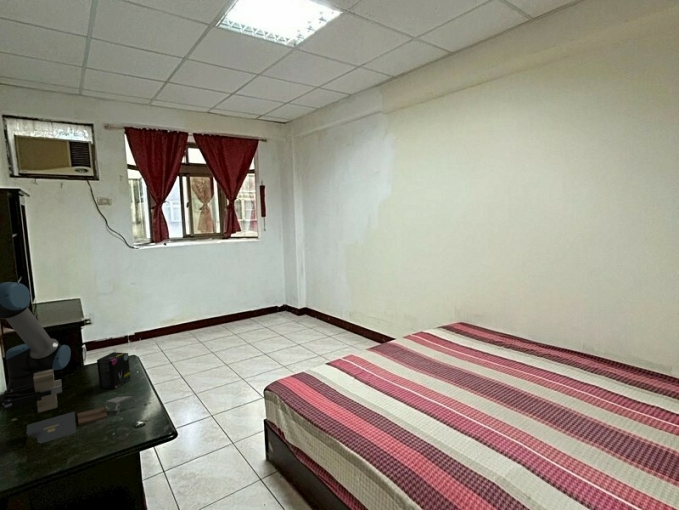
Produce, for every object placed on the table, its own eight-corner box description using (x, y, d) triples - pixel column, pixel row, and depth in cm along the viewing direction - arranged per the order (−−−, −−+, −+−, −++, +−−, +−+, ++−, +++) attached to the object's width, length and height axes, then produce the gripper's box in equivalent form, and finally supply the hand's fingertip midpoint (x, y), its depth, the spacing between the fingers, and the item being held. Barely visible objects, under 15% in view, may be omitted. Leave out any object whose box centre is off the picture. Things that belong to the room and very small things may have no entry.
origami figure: (107, 418, 160) (106, 407, 159) (105, 410, 167) (104, 399, 166) (138, 408, 167) (137, 398, 166) (135, 401, 174) (134, 391, 173)
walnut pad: (77, 415, 162) (77, 413, 162) (104, 408, 168) (104, 405, 168) (78, 426, 154) (78, 423, 154) (107, 417, 160) (107, 415, 160)
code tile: (27, 425, 156) (27, 424, 156) (74, 411, 166) (74, 411, 166) (24, 448, 140) (24, 448, 140) (76, 432, 150) (76, 432, 150)
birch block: (38, 406, 152) (34, 373, 150) (57, 401, 156) (52, 369, 154) (38, 412, 147) (33, 378, 146) (57, 407, 151) (52, 374, 149)
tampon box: (115, 389, 186) (112, 360, 184) (99, 388, 188) (96, 359, 186) (131, 379, 197) (128, 352, 195) (116, 378, 199) (113, 351, 197)
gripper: (-11, 403, 148) (62, 385, 162) (-18, 425, 133) (63, 403, 147) (-14, 385, 147) (60, 369, 161) (-22, 405, 132) (60, 385, 146)
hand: (61, 385), depth 154 cm, fingers closed on birch block, 6 cm apart
